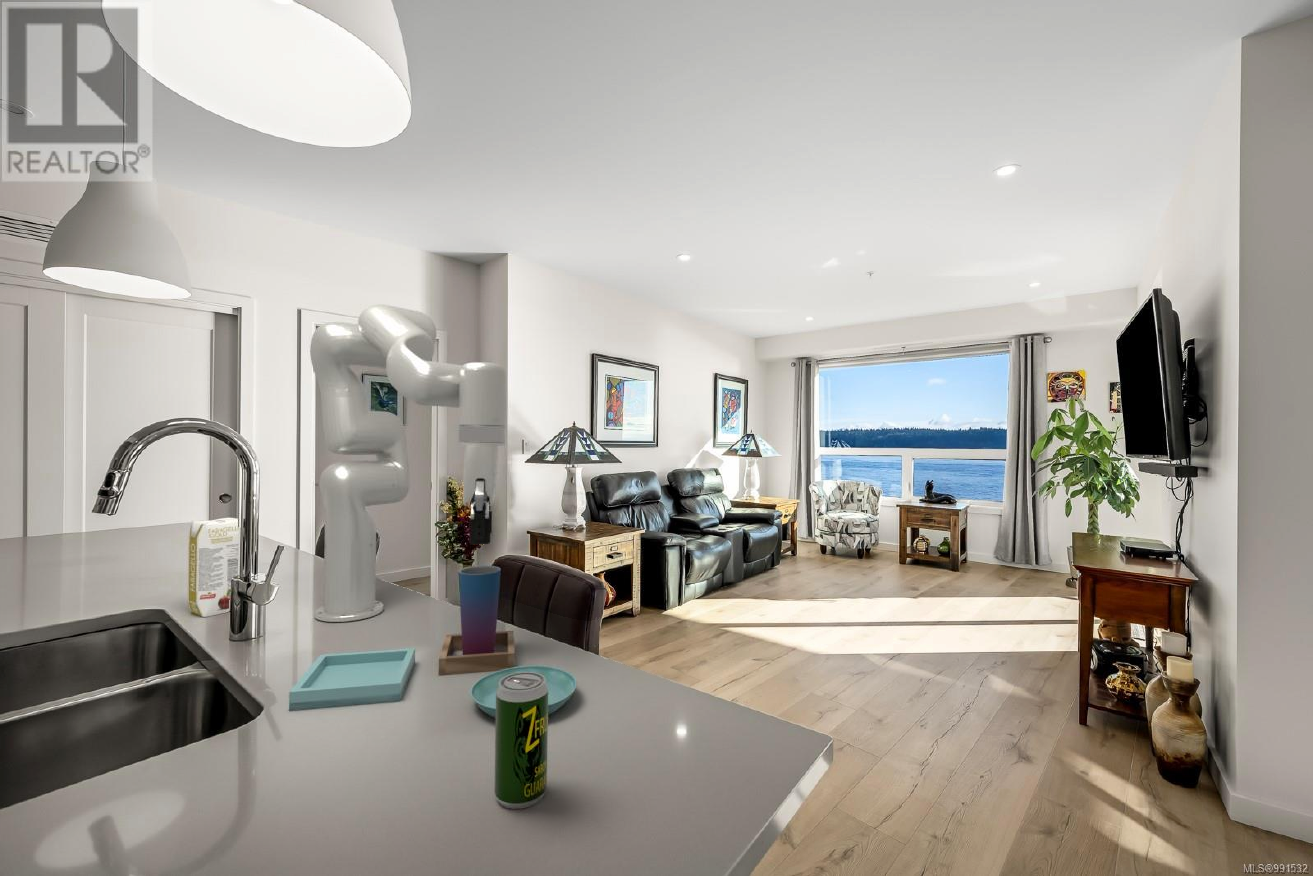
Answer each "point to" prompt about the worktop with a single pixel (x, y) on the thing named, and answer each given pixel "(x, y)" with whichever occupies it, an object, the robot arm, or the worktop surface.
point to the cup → (479, 608)
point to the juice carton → (212, 565)
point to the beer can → (521, 739)
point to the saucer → (556, 679)
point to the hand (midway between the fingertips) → (480, 538)
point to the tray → (353, 679)
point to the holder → (476, 656)
